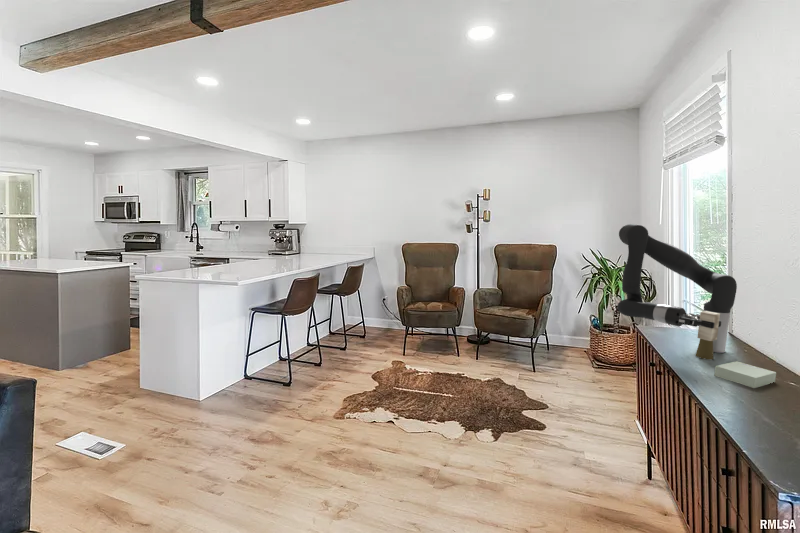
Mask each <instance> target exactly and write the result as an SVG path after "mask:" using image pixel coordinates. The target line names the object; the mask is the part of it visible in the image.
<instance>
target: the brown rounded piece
mask: <svg viewBox="0 0 800 533" xmlns="http://www.w3.org/2000/svg"><path fill="white" fill-rule="evenodd" d="M695 355H696V356H697V357H696V356H695V357H696V358H700V359H703V360H708V361H709V360H714V352H713V341H708V340H704V339H700V338H699V341H698V345H697V350H696V352H695Z"/></svg>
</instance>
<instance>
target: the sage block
mask: <svg viewBox="0 0 800 533" xmlns="http://www.w3.org/2000/svg"><path fill="white" fill-rule="evenodd" d="M713 376H714V377H718V378H721V379H724V380H727V381H731V382H734V383H736V384H737V383H738V384H741V385H743V386H746V387H749V388H752V389H757V388H759V387H760V388H761V387H764V386H767V385H769V384H770V383H771V384H773V382H774V383H776V378H777V372H776V371H772V370H770V369H766V368H762V367H758V366H754V365H751V364H747V363H744V362H740V361H737V360H736V361H732V362H727V363H722V364H719V365H715V368H714V375H713Z"/></svg>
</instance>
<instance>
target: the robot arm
mask: <svg viewBox="0 0 800 533" xmlns="http://www.w3.org/2000/svg"><path fill="white" fill-rule="evenodd" d="M618 237H619V239H620V241H621V242H622V243H623V244H624V245H626V246H628V247H627V248H628V250H627V251H628V255H627V260H626V263H625V265H624V269H623V272H622V279H621V280H622V281H621V282H622V285H621V290H622V292H623V293H624V294H626V298H625V299H622V300H620V301H619V302H618V303H617V311H618V312H619V313H620V314H621V315H623V316H626V317H633V318H639V319H640V318H642V319H648V320H650V321H656V322H658V323H661V324H667V325H669V326H675V327H681V326H683V325H685V326H691V327H695V328H696V327H697V328H699V327H700V326H703V327H708V328H714V325H715V323H714V322H709V321H704V320H703V321H702V320H701V319H700V313H699V314H698V313H696V314H694V313H687V312H686V310H685V308H684V307H679V306H674V305H669V304H660V303H655V302H650V301H649V302H647V301H645V302H643V297H642V292H641V281H642V269H643V263H644V258H645V255H647V256H648V257H650V258H651V259H653V260H654V261H656V262H657V263H659V264H660V265H662V266H664V267H665V268H667V269H668V270H670V271H672V272H674V273H676V274H678V275H680V276H682V277H685V278H686V279H689V280H690V281H692V282H694V283H695V284H696V285H698V286H699V287H701V288H702V289H703V290H704V291H706V293H709V294H711V297H710V300H709V301H708V302H705V303H704V304H703V311H702V312H704V311H709V312H714V313H719V314H720V318H719V326H718V335H717V340H713V353H716V354H717V353H718V354H719V353H720V354H721V353H725V352H726V347H727V341H728V338H727V337H728V332H729V324H730V317H731V316H730V315H731V309H732V308H733V307H734V305H735V300H736V293H737V289H738V284H737V281H736V279H735V278H734V277H733V276H731V275H728V274H725V273H724V274H723V273H718V272H715V271H713V270H710V269H708V268H706V267H704V266H702V265H701V264H700V263H698V261H697V260H696V259H695V258H693V256H692V255H690V254H689V253H688V252H686V251H684V250H682V249H681V248H679V247H677V246H674V245H672V244H670V243H668V242H664V241H662V240H660V239H656V238H655V237H653V236H651V235H650V234H649V231H648V229H647V227H646V226H644V225H641V224H635V223H632V224H631V223H630V224H626V225H623V226H622V227H621V228H620V229H619V231H618Z"/></svg>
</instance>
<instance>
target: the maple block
mask: <svg viewBox="0 0 800 533" xmlns="http://www.w3.org/2000/svg"><path fill="white" fill-rule="evenodd" d="M699 315H700V319H701V320H702V321H703V320H704V321H709V322H714V323H715V325H714V328H708V327H703V326H700V327H699V326H698V330H697V339H699V340H700V339H704V340H708V341H713V340H717V335H718V326H719V318H720V314H719V313H714V312H709V311H704V312H703V311H701V312H700V313H699Z"/></svg>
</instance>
